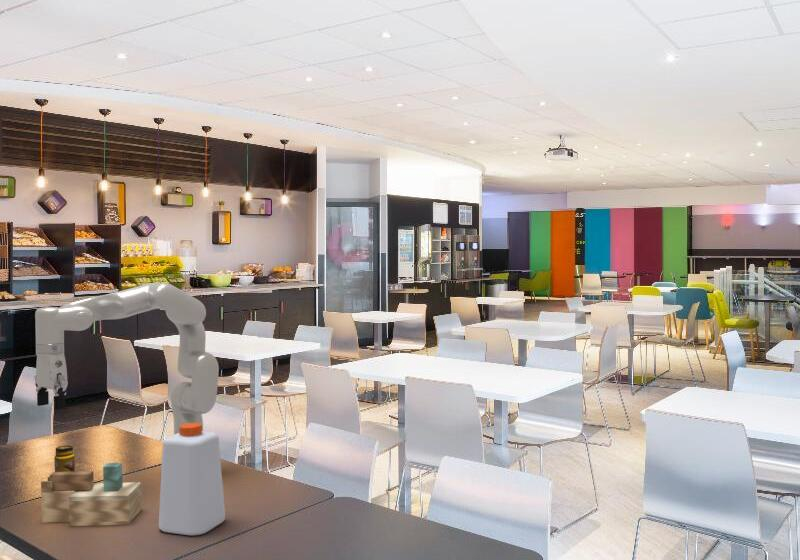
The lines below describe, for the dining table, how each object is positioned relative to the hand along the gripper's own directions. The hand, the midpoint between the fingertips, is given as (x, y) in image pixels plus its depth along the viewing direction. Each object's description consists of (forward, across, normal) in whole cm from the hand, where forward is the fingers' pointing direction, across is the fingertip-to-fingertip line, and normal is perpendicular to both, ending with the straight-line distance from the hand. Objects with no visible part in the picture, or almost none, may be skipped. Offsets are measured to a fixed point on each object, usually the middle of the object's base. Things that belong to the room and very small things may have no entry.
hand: (51, 407), depth 218 cm
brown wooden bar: (+22, -13, +1) cm, 25 cm away
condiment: (+30, +22, -14) cm, 40 cm away
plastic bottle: (+30, -45, -16) cm, 57 cm away
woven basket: (+30, -17, -2) cm, 35 cm away
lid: (+25, -20, -5) cm, 33 cm away
